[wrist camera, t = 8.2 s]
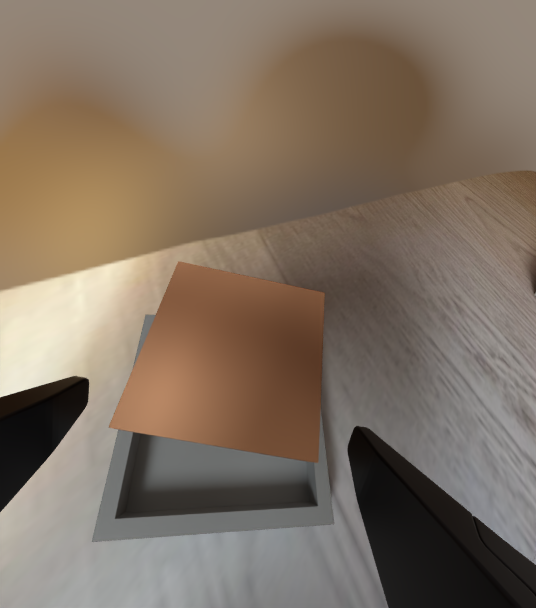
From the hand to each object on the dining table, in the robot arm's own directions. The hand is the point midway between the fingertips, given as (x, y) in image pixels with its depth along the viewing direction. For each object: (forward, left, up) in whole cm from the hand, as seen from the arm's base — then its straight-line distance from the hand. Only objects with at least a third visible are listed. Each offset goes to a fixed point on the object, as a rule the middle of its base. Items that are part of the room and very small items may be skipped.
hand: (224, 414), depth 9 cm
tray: (+1, 0, -10) cm, 10 cm away
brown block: (+1, 0, -9) cm, 9 cm away
